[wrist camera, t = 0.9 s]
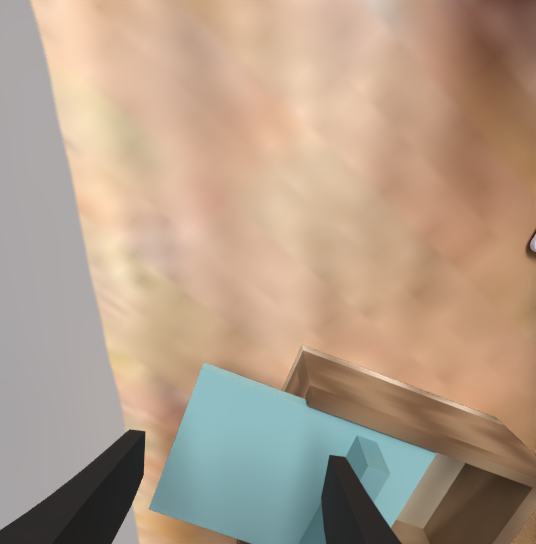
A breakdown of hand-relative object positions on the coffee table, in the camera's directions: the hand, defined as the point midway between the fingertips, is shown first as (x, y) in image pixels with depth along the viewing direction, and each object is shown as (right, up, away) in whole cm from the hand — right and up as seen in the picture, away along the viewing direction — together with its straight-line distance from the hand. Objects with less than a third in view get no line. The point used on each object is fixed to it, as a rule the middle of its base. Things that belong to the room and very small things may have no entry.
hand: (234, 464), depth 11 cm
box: (+9, -6, +12) cm, 16 cm away
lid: (+2, -5, +6) cm, 8 cm away
